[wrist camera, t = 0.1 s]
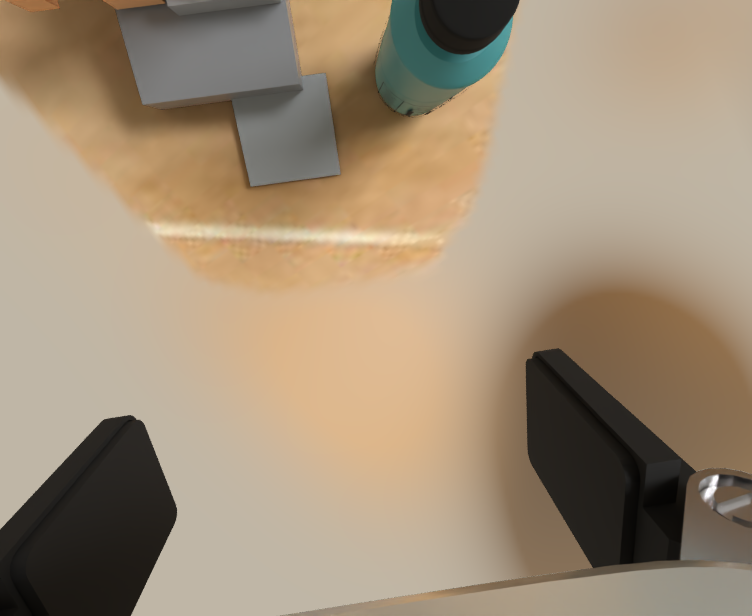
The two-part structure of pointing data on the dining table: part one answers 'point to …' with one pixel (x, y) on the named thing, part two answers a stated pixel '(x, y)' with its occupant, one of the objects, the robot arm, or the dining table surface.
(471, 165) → the dining table surface
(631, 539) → the robot arm
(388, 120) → the dining table surface
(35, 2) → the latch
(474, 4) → the beverage bottle
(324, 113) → the mat
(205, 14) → the grey base plate
